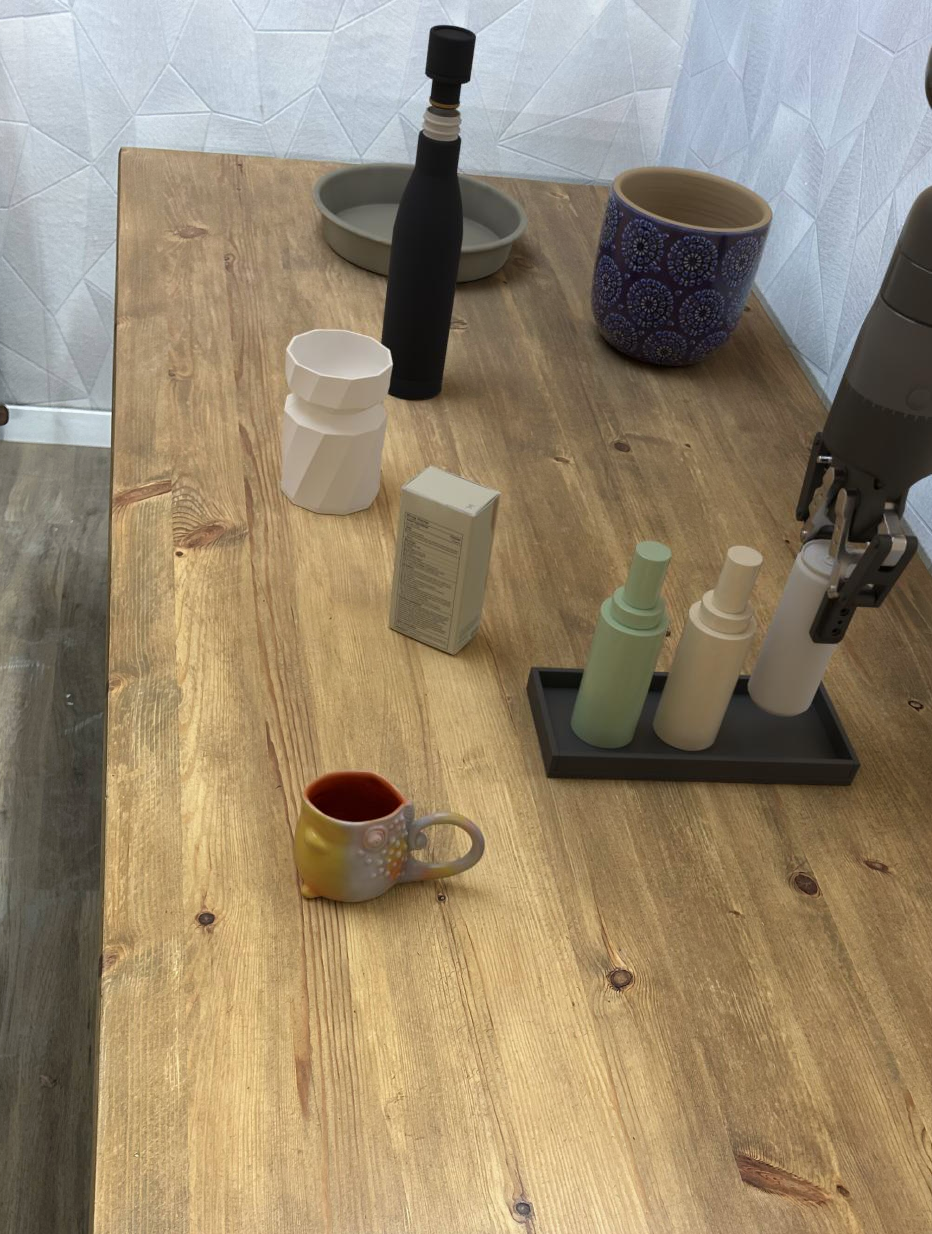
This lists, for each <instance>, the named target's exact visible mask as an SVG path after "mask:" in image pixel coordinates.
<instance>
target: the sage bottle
mask: <svg viewBox="0 0 932 1234" xmlns="http://www.w3.org/2000/svg"><path fill="white" fill-rule="evenodd" d="M672 556H673V555H672V551H671V549H670V548H669V547H668V546H667V545H665V544H663V543H661V542H659V541H654V540H642V541H640V542H638V543H637V544H636V546H635V549H634V552H633V556H632V559H631V563H630V566H629V570H628V574H627V578H626V581H625V584H624V585H622V586H619V587H617V589H615V590H614V592H613V594H612V596H609V597H607V598H606V599H604V600H603V602H602V603H601V605H600V608H599V612H598V616H597V620H596V624H595V627H594V631H593V633H592V634H593V635H592V639H591V641H590V646H589V650H588V653H587V657H586V661H585V665H584V667H583V669H584V672H583V676H582V679H581V683H580V687H579V691H578V694H577V698H576V702H575V706H574V709H573V713H572V717H571V727H572V730H573V731H574V733H575V734H576V735H577V736H578V737H579V738H580V739H581V740H583V741H584V742H586V743H588V744H590V745H593V746H596V747H600V748H607V749H613V748H619V747H623V746H625V745H627V744H628V743H630V742H631V741H632V739H633V737H634V735H635V731H636V728H637V725H638V722H639V719H640V716H641V712H642V709H643V706H644V703H645V700H646V697H647V693H648V690H649V687H650V684H651V681H652V678H653V674H654V672H656V668H657V665H658V662H659V658H660V656H661V652H662V650H663V649H662V648H663V646H664V643H665V639H666V636H667V634H668V630H669V627H670V621H671V619H670V616H669V614H668V612H667V610H666V601H665V599H664V597H663V596H662V594H661V592H662V589H663V585H664V582H665V579H666V577H667V572H668V569H669V566H670V563H671V560H672Z"/></svg>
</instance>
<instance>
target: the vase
mask: <svg viewBox="0 0 932 1234" xmlns="http://www.w3.org/2000/svg"><path fill="white" fill-rule="evenodd" d="M284 364H285V365H284V366H285V377H286V378H285V379H286V383H287V388H288V390H289V391H291V393H289V394H287V395H286V399H285V404H284V409H283V416H282V425H281V477H280V483H279V485H280V488H279V489H280V491H281V492H282V493H283V494H284V495H285V497H286V498H288V500H290V502H291V504H293V505H296V506H298V507H301V508H303V509H306V510H308V511H310V512H313V513H315V514H323V515H341V516H346V515H351V514H353V513H356V512H359V511H363V510H365V509H369V507H370V506H371V505H372V503H373V502H374V501H375V499H376V498H377V497H378V494H379V491H380V485H381V472H382V457H383V450H384V444H385V438H386V437H385V436H386V431H387V423H388V414H387V412H386V410H385V407H384V405H383V404H382V402H383V401H385V400H386V399H387V397H388V395H389V393H388V390H389V386H390V377H391V372H392V366H393V363H392V358H391V353H390V350H389V349H388V348H386V347H385V346H383V345H382V344H381V342H379V341H378V340H377V339H375V338H373V337H372V336H369V335H365V334H361V333H358V332H355V331H354V332H353V331H350V330H347V329H320V328H315V329H312V330H309V331H306V332H303V333H300V334H297V335H294V336H293V337H292V338H291V341H289V344H288V345H287V347H286V349H285V363H284Z"/></svg>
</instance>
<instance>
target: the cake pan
mask: <svg viewBox="0 0 932 1234" xmlns="http://www.w3.org/2000/svg"><path fill="white" fill-rule="evenodd" d="M414 167H415V164H412V163H401V162H400V163H398V162H370V163H360V164H353V165H349V166H344V167H341V168H336V169H334V170H331V171H329V172H327V173H326V174H324V175H322V176H321V177H320V178H318V179H317V180H316V181H315V183H314V184H313V186H312V189H311V198H312V201H313V204H314V206H315V207H316V208H317V210H318V211H319V212H320V214H321V221H322V228H323V229H322V230H323V233H324V234H323V235H324V239H325V241H326V242H327V244H328V246H329V247H330V248H331V249H332V250H333V251H334V252H335V253H336V254H337V255H339V256H340V257H342V258H343V259H345V260H346V261H348V262H350V263H352V264H354V265H356V266H358V267H360V268H362V269H364V270H368V271H370V272H373V273H376V274H378V275H382V276H386V277H388V272H389V263H390V253H391V244H392V234H393V227H394V223H395V219H396V215H397V211H398V208H399V204H400V201H401V198H402V195H403V192H404V190H405V188H406V185H407V183H408V181H409V178H410V176H411V174H412V172H413V169H414ZM457 174H458V180H459V186H460V192H461V198H462V206H463V241H462V248H461V255H460V261H459V268H458V275H457V282H456V284H458V283H465V282H472V281H476V280H480V279H484V278H486V277H489V276H491V275H493V274H494V273H497V272H498V271H499V270H500V269H501V268H502V267H503V266H504V265H505V263H506V261H507V259H508V257H509V254H510V252H511V249H512V247H513V244H514V243H515V242H516V241H517V240H519V239H520V238H521V237H522V236H523V234H524V233H525V232H526V230H527V228H528V224H529V223H528V222H529V220H528V219H529V218H528V215H527V212H526V211H525V209H524V208H523V206H522V205H521V203H519V201H518V200H516V199H515V198H514V197H512V196H511V195H510V194H509V193H507V192H506V191H503V190H502V189H500V188H498V187H496V186H494V185H493V184H490V183H488V182H487V181H483V180H480V179H478V178H476V177H473V176H470V175H467V174H463V173H460V172H457Z"/></svg>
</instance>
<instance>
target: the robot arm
mask: <svg viewBox="0 0 932 1234" xmlns="http://www.w3.org/2000/svg"><path fill="white" fill-rule="evenodd" d="M924 93H925V97H926V101H927V104H928V106H929V108H930V110H931V111H932V45H931V47H930V50H929V52H928V55H927V61H926V64H925V70H924ZM862 322H863V323H862V324H861V327H860V329H859V330H858V334H857V336H856V339H855V341H854V343H853V348H852V350H851V353H850V355H849V358H848V361H847V364H846V366H845V369H844V371H843V374H842V377H841V380H840V381H839V384H838V388H837V390H836V393H835V396H834V399H833V401H832V404H831V407H830V409H829V412H828V413H827V418H826V420H825V423H824V426H823V428H822V431H818V432H816V433H815V435H814V440H813V442H812V446H811V450H810V454H809V459H808V462H807V465H806V470H805V474H804V479H803V482H802V487H801V490H800V494H799V498H798V502H797V505H796V510H795V519H796V521H797V522H803V525H802V527H801V529H800V534H799V540H800V543H801V544H802V545H801V547H800V550H799V552H798V554H799V553H800V552H801V550H802V547H803V546H804V545H805V544H806V543H807V542H810V541H812V540H818V539H828V540H831V544H830V548H829V553H828V554H829V557H830V558H831V559H832V560H833V567H832V571H831V576H830V580H829V584H828V590H827V591H826V592H825V594H824V597H823V599H822V602H821V604H820V607H819V609H818V611H817V614H816V616H815V619H814V621H813V624H812V626H811V628H810V631H809V635H810V637H811V639H812V641H813V642H814V643H819V644H837V645H838V644H840V643H841V642H842V641H843V640H844V637H845V636H846V633H847V630H848V628H849V626H850V623H851V622H852V620H853V617H854V615H855V612H856V610H857V608H871V609H878V608H880V607H881V606H882V604H883V603H884V601H885V600H886V598H888V595H889V594H890V592H892V589H893V588H894V586H895V585H896V584H897V582H898V580H899V579H900V577H901V576H902V574H903V573H904V571H905V570H906V568H907V566H908V565H909V564H910V562H911V561H912V560H913V558H914V557H915V555H916V553H917V551H918V548H919V540H918V537H917V535H908V534H907V535H905V534H904V531H903V529H902V525H901V523H900V521H901V520H902V518H903V516H904V514H905V509H906V504H907V500H908V496H909V492H910V488H911V487H913V486H914V485H915V484H916V483H918V482H919V481H921V480H924V479H925V478H927V477H930V476H931V475H932V185H929V186H928V187H926V188H924V189H923V190H922V191H921V192H920V193H919V194H918V195H917V197H916V198H915V200H914V201H913V203H912V204H911V207H910V209H909V211H908V213H907V215H906V217H905V220H904V222H903V226H902V228H901V231H900V233H899V235H898V239H897V241H896V244H895V246H894V249H893V252H892V254H891V257H890V260H889V263H888V265H887V268H886V270H885V274H884V276H883V279H882V281H881V284H880V287H879V289H878V292H877V294H876V296H875V299H874V300H873V303H872V304H871V307H870V308H869V310H868V312H867V314H866V315H865V318H864V319H863V321H862ZM817 490H818V491H817ZM816 491H817V492H816ZM815 492H816V493H815ZM847 542H848V543H851V544H864V548H855V549H849V548H846V544H847ZM851 564H857V565H856V567H855V568H854V570H853V572H852V573H851V575H850V577H849V578H848V580H845V576H846V572H847V568H848V566H849V565H851Z"/></svg>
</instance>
